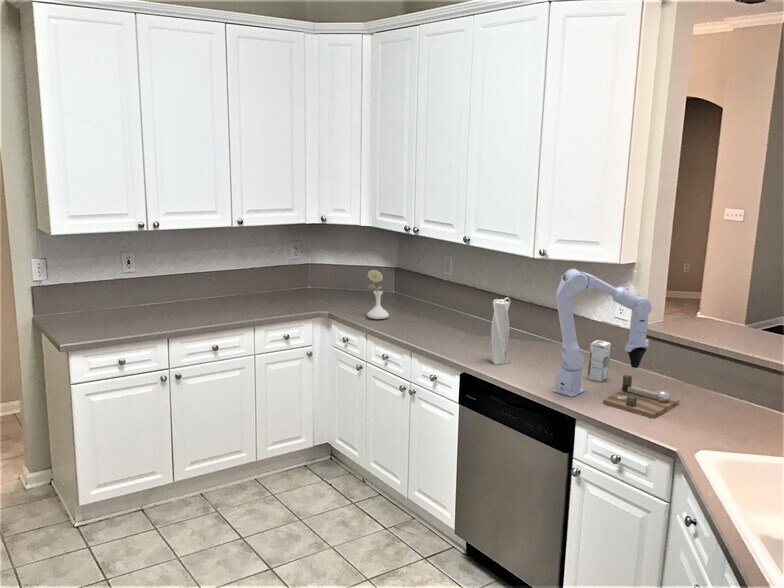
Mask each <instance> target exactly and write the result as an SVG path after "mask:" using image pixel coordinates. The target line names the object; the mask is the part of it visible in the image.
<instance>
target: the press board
mask: <svg viewBox="0 0 784 588" xmlns="http://www.w3.org/2000/svg"><path fill="white" fill-rule="evenodd" d="M602 404H603V405H605V406H610V407H612V408H616V409H620V410H623V411H626V412H629V413H633V414H636V413H637V415H639V414H641V415H640V416H643V415H644V416H643V417H646V416H647V418H650V417H651V418H650V419H653V418H654V419H656V418H657V417H659V416H661V415H662V413H663V412H664V413H665V411H666V412H668V411H670V410H671V409H673V408H674V407H676V406H678V405H680V399H678V398H674V397H671V396H669V401H668V402H659V401H657V400H656V399H653V398H650V397H646V396H642V395H639V394H635V393H631V392H628V391H623V390H622V389H621V390H619V391H618V392H616V393H614V394H612V395H610V396H607V397H606V398H603V400H602ZM672 407H673V408H672ZM670 408H671V409H670ZM667 410H668V411H667ZM664 413H663V414H664ZM660 414H661V415H660ZM658 415H659V416H658ZM655 417H656V418H655Z"/></svg>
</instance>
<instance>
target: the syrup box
mask: <svg viewBox="0 0 784 588" xmlns="http://www.w3.org/2000/svg"><path fill="white" fill-rule="evenodd" d="M611 345H612V344H611V342H608V341H606V340H597V339H596V340H595V341H593V342H591V343H590V348H589V356H588V357H589V359H588V367H587V368H588V369H587V378H586V379H588V380H589V381H590V380H591V381H596V382H600V383H602V382H603V381H605V380H607V379H608V373H609V362H610V356H611Z"/></svg>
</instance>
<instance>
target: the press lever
mask: <svg viewBox="0 0 784 588" xmlns="http://www.w3.org/2000/svg"><path fill="white" fill-rule="evenodd" d="M632 383H633V376H632V375H628V374H627V375H625V374H624V375H623V376H622V385H621V386H622V389H621V391H622V390H623V391H628V392H631V393H635V394H639V395H642V396H646V397H650V398H653V399H656V400H657V401H659V402H668V401H669V397H670V392H669V390H663V389H658V390H656V391H653V390H649V389H645V388H642V387H638V386H634V385H633V384H632Z"/></svg>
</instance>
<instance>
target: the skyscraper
mask: <svg viewBox="0 0 784 588" xmlns="http://www.w3.org/2000/svg"><path fill="white" fill-rule="evenodd" d="M506 300H508V301H506ZM492 305H493V311H494V312H493V316H492V320H491V333H490V334H491V335H490V336H491V349H492V354H491V357H490V358H489V361H490V362H491V361H492V362H491V363H492V364H494V365H495V364H498V365H512V363H511V362H510V361H509V360H507V347H508V342H509V336H510V335H509V334H510V318H509V313H508V311H509V308H510V305H511V299H510V298H509V297H504V299H498V298H496V299H494V300H493V301H492Z"/></svg>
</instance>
